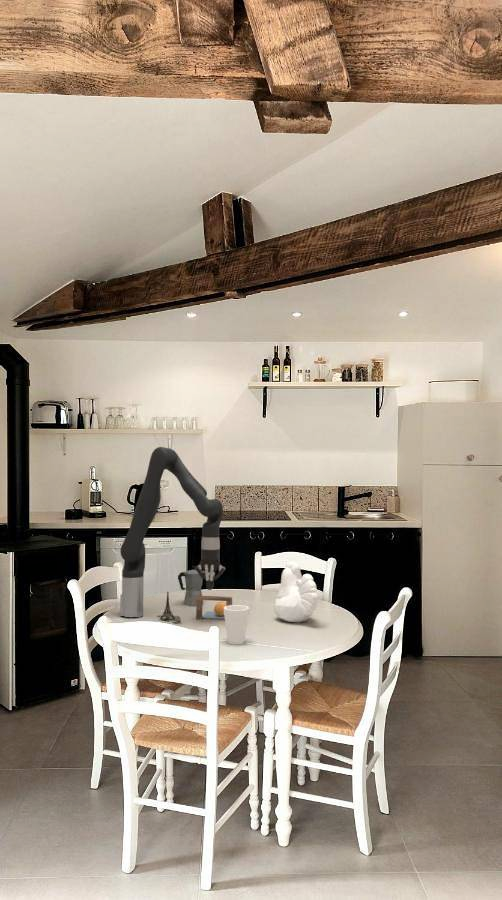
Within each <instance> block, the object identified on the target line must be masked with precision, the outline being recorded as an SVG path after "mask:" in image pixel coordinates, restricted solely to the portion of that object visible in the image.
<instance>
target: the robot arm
mask: <svg viewBox="0 0 502 900" xmlns="http://www.w3.org/2000/svg"><path fill="white" fill-rule="evenodd" d="M149 458H150V459H149V463H148V468H147V472H146V475H145V478H144V482H143V485H142V488H141V492H140V493H139V497H138V500H137V502H136V506H135V509H134V512H133V515H132V519H131V523H130V526H129V528H128V532H127V533H126V536H125V538H124V539H123V542H122V545H121V546H120V555H121V558H122V559H123V560H124V561H123V562H124V564H123V568H122V571H121V594H120V597H119V599H120V600H119V601H120V602H119V605H120V606H119V612H120V613H119V615H120V616H126V617H139V618H142V617H143V616H144V585H145V584H144V576H145V575H144V573H145V569H146V545H145V544H144V540H145V536H146V534H147V531H148V529H149V528H150V526H151V524H152V522H153V521H154V519H155V517H156V515H157V512H158V509H159V506H160V503H161V498H162V497H161V495H162V494H161V481H162V478H163V477H162V476H163V474H164V471H165V470H167V471H169V472H170V473H172V475H173V476H175V478H176V479H177V480H178V482H179V485H180V487H181V488H182V490H183V491H184V493H185V494H186V495H187V496H188V497H189V499H191V500H192V502H193V504H194V506H195V508H196V510H197V511H198V513H200V514H201V515H202V516H203V517H205V518H207V521H206V522H204V523H203V524H202V527H201V528H202V530H201V532H202V533H201V534H202V535H201V546H200V547H201V550H200V551H201V552H200V553H201V556H200V558H201V559H200V562H199V564H198V565H197V566H196V565H195V566H196V567H195V570H196V571H197V572H198V574H199V575H200V576H201V578H202V579H203V580H205V581H206V583H205V586H206V587H205V588H206V589H207V590H208V591H211V590H213V589H214V586H215V585H214V582H215V581H216V580H218V579H219V577H220V576H221V575H222V574H223V573H224V571H225V570H226V567H225V566H223V565H222V564H221V561H220V556H221V555H220V550H221V549H220V547H221V544H220V543H221V542H220V525H221V522H222V518H223V513H224V505H223V503H222V501H220V500H219V499H217V498H213V499H209V498H208V497H207V495H208V491H207V490H206V489H205V487H204V486H203V485H202V484H201V483H200V482H199V481H198V480H197V479H196V478H195V477H194V476H193V474H192V473H191V472H190V471H189V470H188V468H187V467H186V465H185V464H184V463H183V461H182V460H181V458H180V456H179V454H178V453H177V452H176V451H175V449H172V448H169V447H164V446H159V447H156V448H155V449H153V450H152V453H151V455H150V457H149ZM217 570H218V572H217V574H216V571H217ZM202 571H205V573H203V572H202ZM120 616H119V617H120ZM141 616H142V617H141Z"/></svg>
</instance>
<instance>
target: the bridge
mask: <svg viewBox="0 0 502 900" xmlns="http://www.w3.org/2000/svg"><path fill="white" fill-rule="evenodd" d="M202 600H203V601H216V602H217V601H218V602H219V601H220V602H226V603H225V604H226V606H230V605H233V596H222V595H221V596H220V595H219V596H218V595H202V596H197V597H196V606H195V607H196V609H195V610H196V611H195V620H196V621H202V620H203V618H202V616H203V605H202Z"/></svg>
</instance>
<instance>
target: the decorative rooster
mask: <svg viewBox="0 0 502 900" xmlns="http://www.w3.org/2000/svg"><path fill="white" fill-rule="evenodd" d="M280 578H281V579H280V586H279V591H278V593H277V596H276V599H275V601H274V605H273V610H274V614H275V615H276V616H277V617H278V618H279V619H282V620H284V621H286V622H290V623H303V622H306V621H307V620H309V618H310V617H311V616H312V615H313V614H314V612H315V611H316V610H317V605H318V601H319V596H318V593H317V592H318V589H317V584H316V582H315V581H314V577H313V576H312V575H311V574H310V573H305V574H303V575H302V572H301V565H299V564H298V562H296V561H294V560H292V561H288V562H287V563H286V566H285V568H284V569H283V570H282V572H281V577H280Z"/></svg>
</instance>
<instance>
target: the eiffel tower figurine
mask: <svg viewBox="0 0 502 900" xmlns="http://www.w3.org/2000/svg"><path fill="white" fill-rule="evenodd" d="M169 599H170V598H169V591H167V592H166V603H165V609H164V612H162V615H156V618H159V619H158V621H160V620H161V622H167V623H170V622H171V623H172V624H174V625H176V624H182V620H181V618H180V616H179V615H174V614H173V612H172V610H171V607H170V606H171V605H170V600H169Z"/></svg>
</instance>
